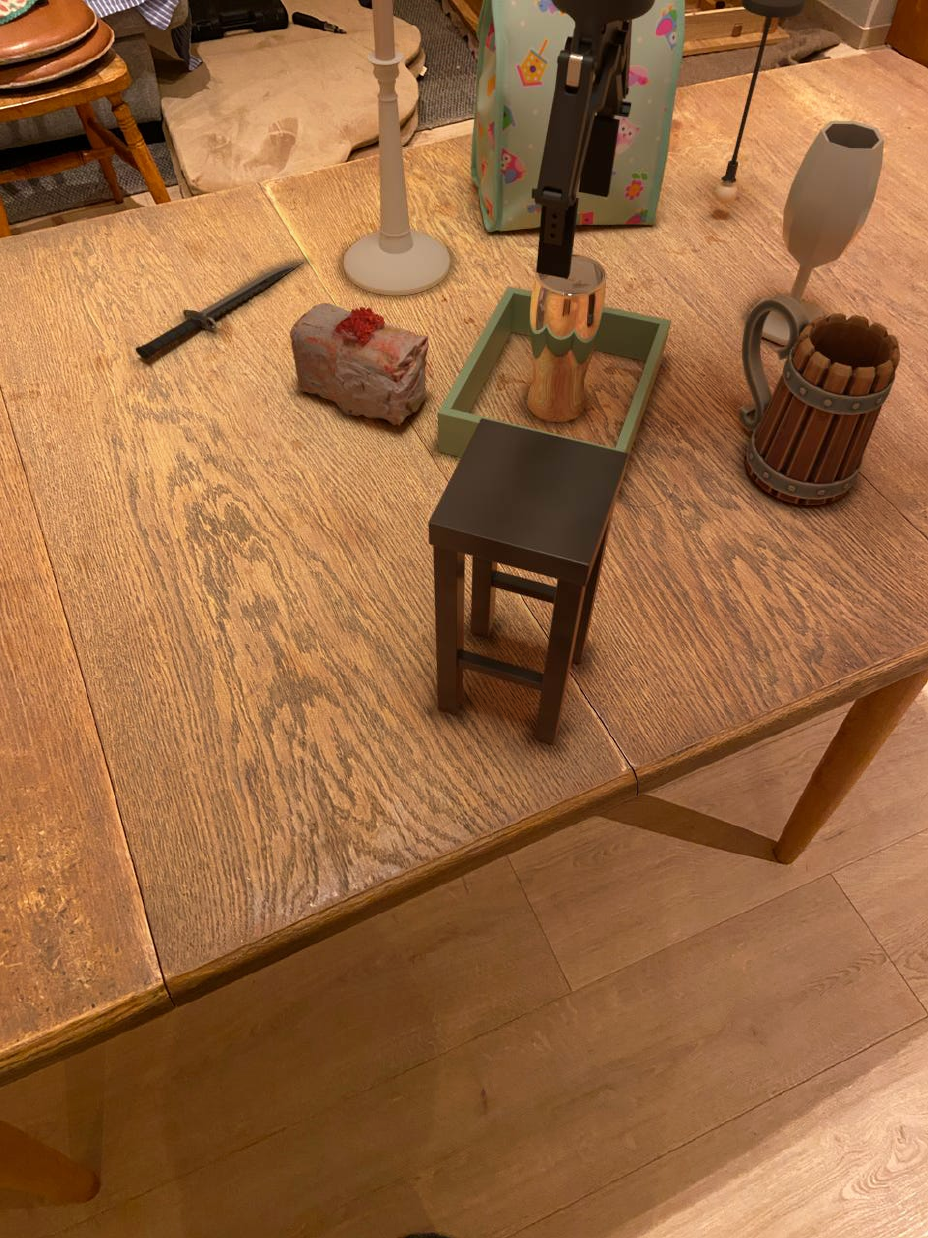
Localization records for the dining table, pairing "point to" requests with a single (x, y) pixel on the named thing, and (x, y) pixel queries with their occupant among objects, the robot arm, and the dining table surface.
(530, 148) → the lunch bag
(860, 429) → the mug
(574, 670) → the dining table surface
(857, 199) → the wineglass
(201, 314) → the knife
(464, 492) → the stool
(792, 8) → the light fixture
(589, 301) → the beer glass
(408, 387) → the food item
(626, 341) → the green rectangular open frame
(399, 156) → the candlestick
